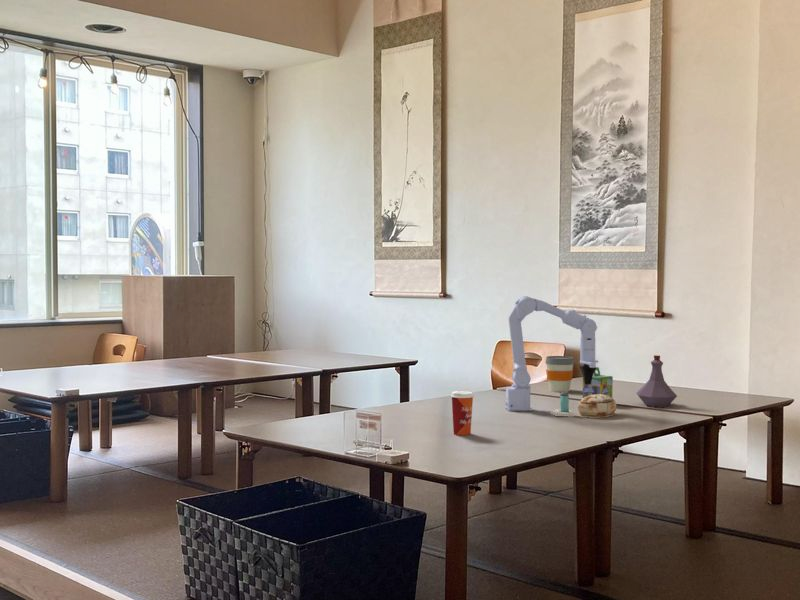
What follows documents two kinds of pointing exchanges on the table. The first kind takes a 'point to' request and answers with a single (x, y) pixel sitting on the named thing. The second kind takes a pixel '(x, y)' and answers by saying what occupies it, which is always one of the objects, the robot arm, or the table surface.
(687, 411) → the table surface
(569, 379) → the reusable coffee cup
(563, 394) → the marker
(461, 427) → the paper cup
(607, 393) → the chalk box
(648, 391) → the flask
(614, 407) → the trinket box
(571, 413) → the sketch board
